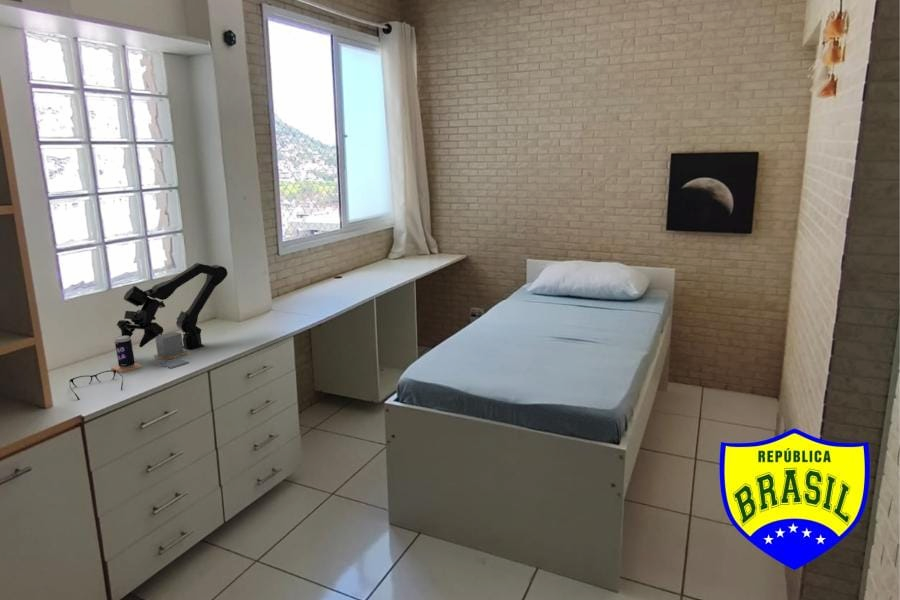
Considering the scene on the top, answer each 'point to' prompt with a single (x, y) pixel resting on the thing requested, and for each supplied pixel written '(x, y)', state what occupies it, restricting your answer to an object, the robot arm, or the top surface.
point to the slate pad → (174, 363)
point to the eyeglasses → (91, 379)
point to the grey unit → (169, 346)
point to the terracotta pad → (126, 368)
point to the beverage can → (124, 351)
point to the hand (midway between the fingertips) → (130, 346)
